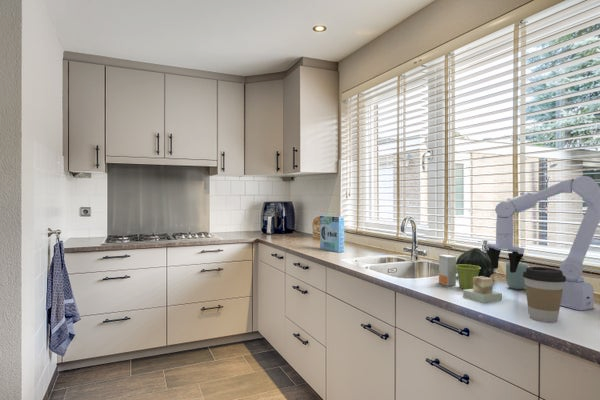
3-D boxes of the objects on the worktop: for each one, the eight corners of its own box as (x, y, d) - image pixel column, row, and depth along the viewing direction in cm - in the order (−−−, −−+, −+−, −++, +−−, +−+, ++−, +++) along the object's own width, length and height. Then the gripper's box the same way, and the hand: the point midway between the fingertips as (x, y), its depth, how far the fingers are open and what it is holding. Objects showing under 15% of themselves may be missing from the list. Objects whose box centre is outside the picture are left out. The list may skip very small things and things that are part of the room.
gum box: (344, 252, 251) (344, 216, 251) (338, 252, 248) (338, 216, 248) (325, 248, 267) (325, 215, 267) (319, 249, 264) (319, 215, 264)
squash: (470, 262, 186) (460, 240, 179) (502, 268, 174) (492, 245, 167) (457, 284, 180) (446, 263, 173) (489, 293, 168) (478, 269, 161)
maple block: (492, 292, 140) (492, 278, 140) (483, 293, 138) (483, 279, 138) (482, 289, 144) (482, 276, 144) (473, 290, 142) (473, 277, 142)
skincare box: (438, 282, 166) (438, 254, 165) (446, 282, 167) (447, 254, 167) (447, 286, 160) (447, 257, 160) (456, 285, 161) (456, 256, 161)
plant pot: (481, 287, 159) (481, 265, 159) (479, 291, 151) (479, 269, 151) (457, 284, 164) (457, 263, 164) (453, 288, 156) (453, 267, 155)
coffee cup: (548, 313, 124) (549, 266, 124) (575, 325, 113) (576, 273, 113) (513, 313, 124) (514, 266, 124) (536, 325, 113) (537, 273, 112)
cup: (503, 288, 157) (503, 263, 157) (508, 285, 163) (509, 261, 163) (524, 291, 152) (525, 266, 152) (529, 288, 157) (530, 263, 157)
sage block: (501, 301, 139) (501, 293, 139) (483, 304, 135) (483, 295, 135) (480, 295, 147) (480, 287, 147) (463, 297, 144) (463, 289, 143)
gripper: (480, 232, 150) (480, 267, 151) (514, 236, 137) (514, 274, 137) (493, 231, 153) (493, 266, 153) (528, 235, 140) (527, 273, 140)
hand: (503, 270), depth 145 cm, fingers open, 7 cm apart
